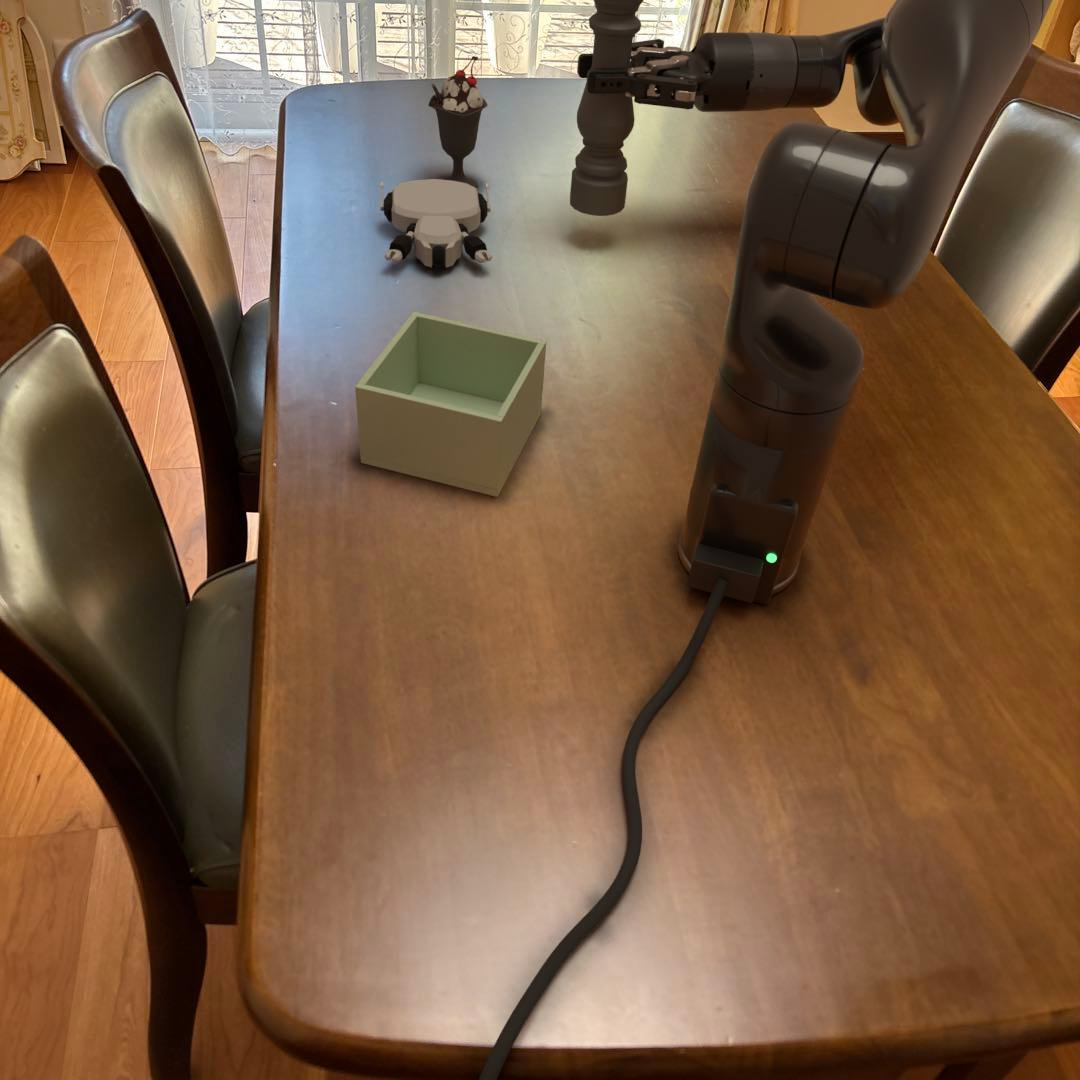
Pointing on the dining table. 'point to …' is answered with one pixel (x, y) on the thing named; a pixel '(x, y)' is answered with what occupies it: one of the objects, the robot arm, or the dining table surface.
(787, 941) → the dining table surface
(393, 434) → the bin
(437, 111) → the sundae
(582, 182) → the candle holder
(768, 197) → the robot arm
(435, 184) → the robot toy
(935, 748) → the dining table surface
